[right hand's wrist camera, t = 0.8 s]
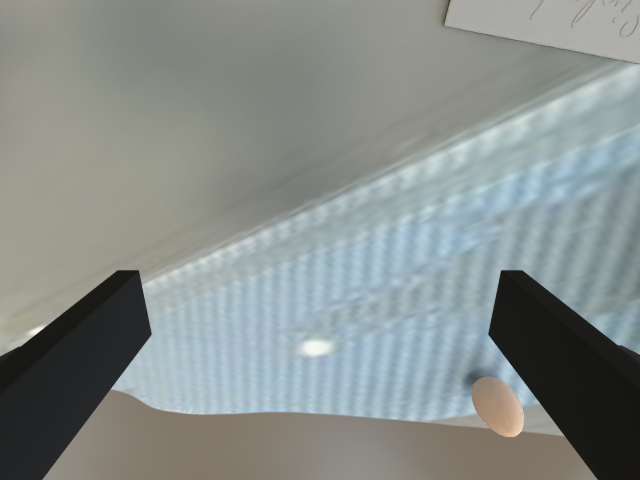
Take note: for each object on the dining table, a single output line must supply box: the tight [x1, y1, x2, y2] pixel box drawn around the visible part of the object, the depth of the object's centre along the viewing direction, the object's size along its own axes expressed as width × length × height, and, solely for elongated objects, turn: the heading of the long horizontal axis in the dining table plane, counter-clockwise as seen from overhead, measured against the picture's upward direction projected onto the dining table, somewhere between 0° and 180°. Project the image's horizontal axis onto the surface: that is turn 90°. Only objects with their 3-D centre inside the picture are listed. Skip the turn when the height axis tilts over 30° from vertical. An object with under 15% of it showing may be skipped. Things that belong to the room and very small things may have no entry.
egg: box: [472, 376, 524, 437], centre depth 44 cm, size 5×5×8 cm
